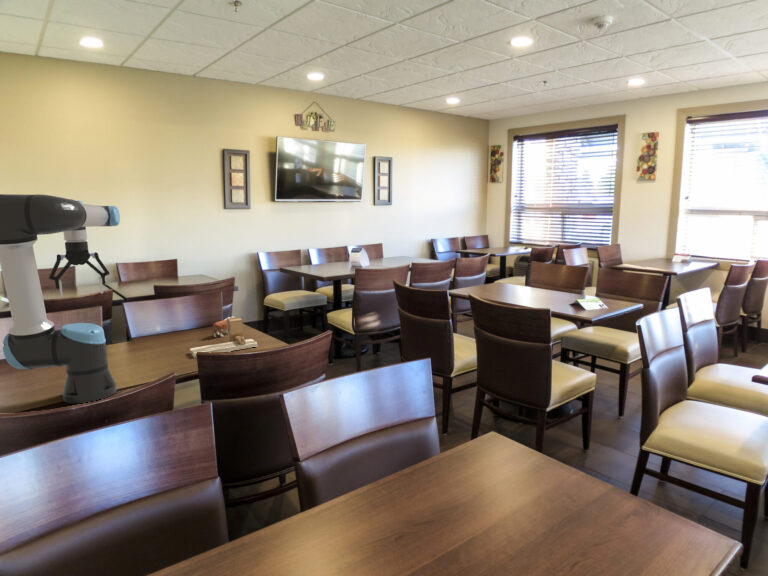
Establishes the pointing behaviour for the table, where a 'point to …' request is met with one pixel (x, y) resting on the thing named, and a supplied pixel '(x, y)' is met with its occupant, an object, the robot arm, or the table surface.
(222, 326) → the bull figurine
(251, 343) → the board
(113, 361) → the table surface
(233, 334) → the tan boxy piece
